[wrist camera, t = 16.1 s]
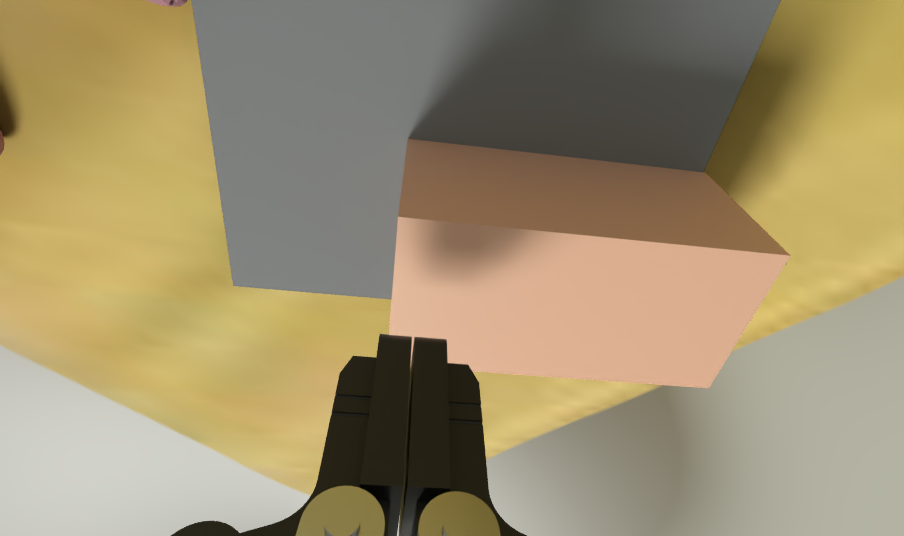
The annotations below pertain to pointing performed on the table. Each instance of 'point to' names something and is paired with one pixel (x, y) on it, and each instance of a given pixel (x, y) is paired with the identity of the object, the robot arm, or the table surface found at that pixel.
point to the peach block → (575, 265)
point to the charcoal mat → (441, 107)
